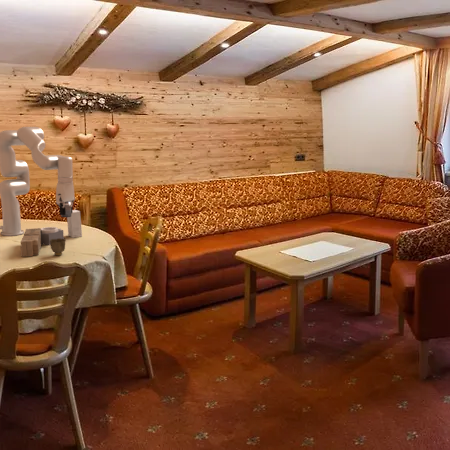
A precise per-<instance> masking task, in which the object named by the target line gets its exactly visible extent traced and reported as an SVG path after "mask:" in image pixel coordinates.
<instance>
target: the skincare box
mask: <svg viewBox="0 0 450 450" xmlns="http://www.w3.org/2000/svg"><path fill="white" fill-rule="evenodd" d="M66 220H67V232H68V234H67V235H68V236H69V237H70V238H73V239H74V238H82V237H83V233H82V219H81V211H80V210H77V209H74V210H73V209H72V213H71V217H66Z"/></svg>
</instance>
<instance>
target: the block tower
mask: <svg viewBox="0 0 450 450" xmlns="http://www.w3.org/2000/svg"><path fill="white" fill-rule="evenodd" d="M41 228H42V227H41ZM41 228H40V227H37V228H26V229H25V231H24V233H23V236H22V238H21V240H20V249H21V251H20V252H21V257H33V256H39V254H40V251H41V247H42V244H41Z"/></svg>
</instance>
